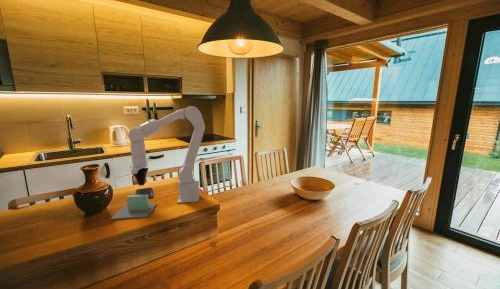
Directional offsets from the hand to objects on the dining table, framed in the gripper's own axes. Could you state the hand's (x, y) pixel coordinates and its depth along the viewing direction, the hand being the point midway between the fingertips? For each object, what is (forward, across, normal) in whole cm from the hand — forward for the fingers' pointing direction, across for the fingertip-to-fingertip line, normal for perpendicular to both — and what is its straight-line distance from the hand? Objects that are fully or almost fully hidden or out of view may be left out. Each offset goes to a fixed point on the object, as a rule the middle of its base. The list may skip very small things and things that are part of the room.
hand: (141, 184), depth 104 cm
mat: (+9, +7, -1) cm, 12 cm away
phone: (+10, -13, -4) cm, 17 cm away
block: (+9, +6, 0) cm, 11 cm away
